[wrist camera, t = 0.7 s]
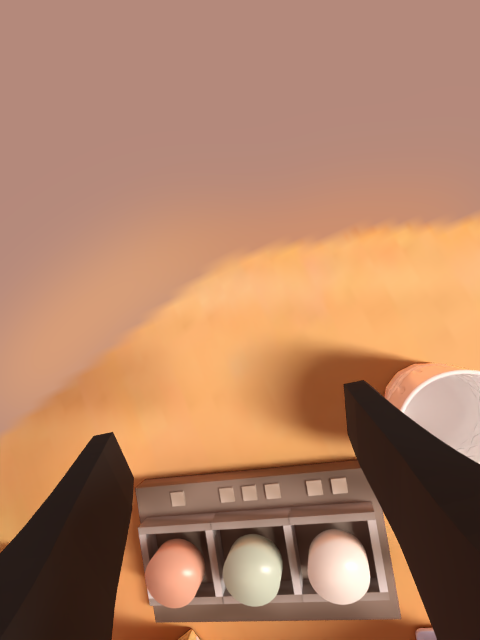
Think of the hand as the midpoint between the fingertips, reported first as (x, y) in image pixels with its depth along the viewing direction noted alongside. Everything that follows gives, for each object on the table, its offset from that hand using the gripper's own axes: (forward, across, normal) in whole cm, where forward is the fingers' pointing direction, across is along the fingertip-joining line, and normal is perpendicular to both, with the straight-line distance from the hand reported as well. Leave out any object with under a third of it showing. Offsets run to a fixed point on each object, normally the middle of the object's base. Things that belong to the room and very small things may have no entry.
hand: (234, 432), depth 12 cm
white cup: (+16, -14, +16) cm, 26 cm away
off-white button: (+9, -4, +23) cm, 25 cm away
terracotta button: (+11, +8, +24) cm, 28 cm away
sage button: (+10, +2, +23) cm, 26 cm away
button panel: (+13, +1, +25) cm, 29 cm away
